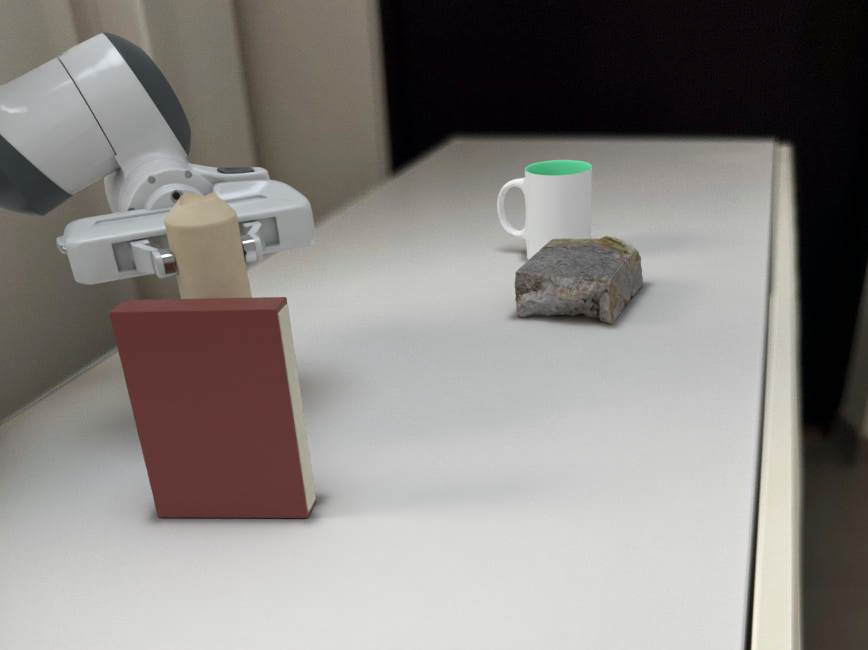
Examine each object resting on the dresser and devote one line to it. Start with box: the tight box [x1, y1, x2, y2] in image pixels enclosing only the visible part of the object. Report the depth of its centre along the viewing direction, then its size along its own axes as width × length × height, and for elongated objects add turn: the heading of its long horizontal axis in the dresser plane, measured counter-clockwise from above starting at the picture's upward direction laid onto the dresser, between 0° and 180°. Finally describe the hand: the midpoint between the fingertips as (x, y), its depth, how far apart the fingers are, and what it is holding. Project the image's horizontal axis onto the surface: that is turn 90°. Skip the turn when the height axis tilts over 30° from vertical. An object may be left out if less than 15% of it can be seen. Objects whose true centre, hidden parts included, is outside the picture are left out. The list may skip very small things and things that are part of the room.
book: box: [108, 296, 317, 519], centre depth 78 cm, size 12×3×16 cm, turn 85°
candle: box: [164, 192, 253, 299], centre depth 83 cm, size 6×6×10 cm
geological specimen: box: [514, 235, 644, 325], centre depth 116 cm, size 11×6×15 cm
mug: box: [496, 159, 593, 261], centre depth 130 cm, size 12×8×10 cm, turn 71°
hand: (211, 259), depth 82 cm, fingers closed on candle, 5 cm apart
